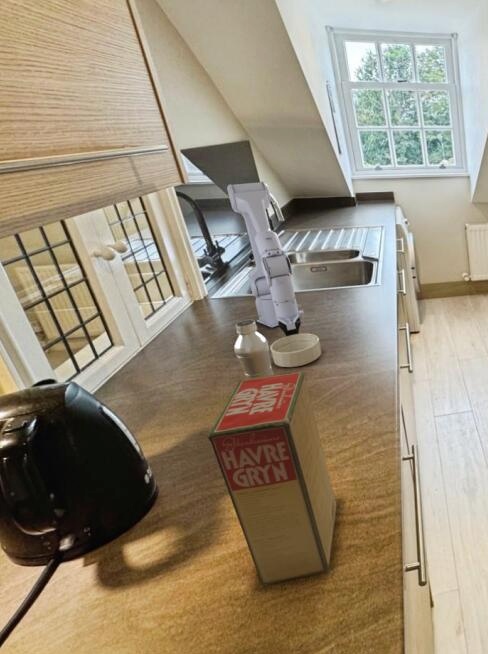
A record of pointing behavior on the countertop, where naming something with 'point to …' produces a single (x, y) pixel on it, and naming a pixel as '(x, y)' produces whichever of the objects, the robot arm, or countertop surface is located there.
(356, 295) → the countertop surface
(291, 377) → the food packaging
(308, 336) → the bowl
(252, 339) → the plastic bottle
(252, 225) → the robot arm
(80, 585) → the countertop surface
